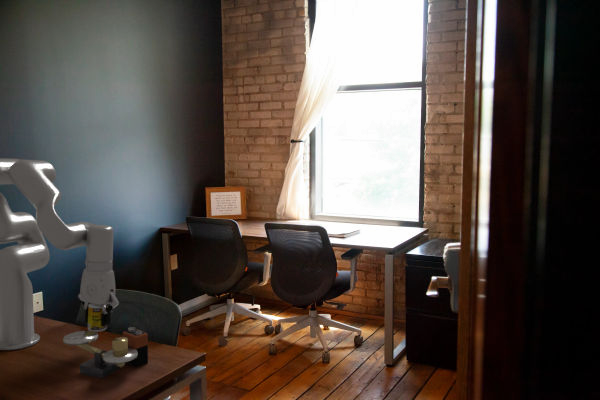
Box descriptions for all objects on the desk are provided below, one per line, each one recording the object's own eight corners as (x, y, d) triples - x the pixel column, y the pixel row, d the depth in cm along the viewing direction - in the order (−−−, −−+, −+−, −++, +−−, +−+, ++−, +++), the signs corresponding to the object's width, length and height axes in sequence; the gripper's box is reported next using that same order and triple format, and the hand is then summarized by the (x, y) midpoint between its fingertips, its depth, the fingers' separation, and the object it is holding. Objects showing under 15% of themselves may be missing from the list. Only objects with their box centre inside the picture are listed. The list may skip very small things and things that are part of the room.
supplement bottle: (89, 333, 144) (90, 300, 143) (86, 327, 148) (87, 295, 147) (108, 330, 147) (110, 298, 146) (105, 325, 151) (106, 293, 150)
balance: (56, 370, 134) (55, 339, 133) (81, 358, 142) (81, 329, 142) (122, 385, 126) (121, 351, 125) (144, 371, 134) (144, 340, 133)
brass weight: (109, 355, 130) (108, 341, 129) (119, 350, 133) (119, 336, 133) (120, 357, 128) (120, 343, 128) (131, 352, 132) (131, 338, 132)
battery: (135, 357, 143) (134, 325, 143) (148, 363, 139) (148, 330, 139) (122, 362, 140) (121, 328, 139) (135, 368, 136) (135, 334, 135)
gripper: (67, 264, 145) (66, 321, 147) (112, 272, 139) (110, 332, 141) (87, 259, 152) (85, 314, 154) (130, 267, 146) (128, 324, 148)
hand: (97, 322), depth 147 cm, fingers closed on supplement bottle, 5 cm apart
